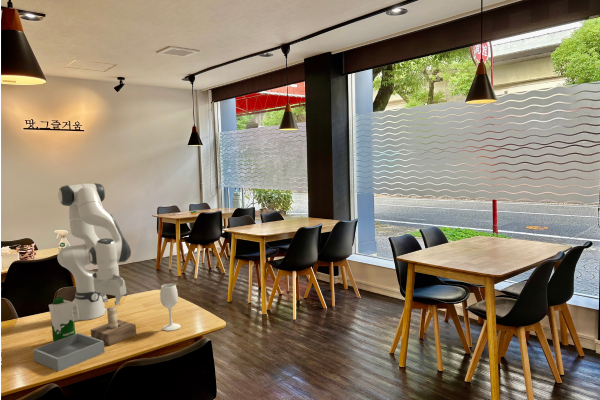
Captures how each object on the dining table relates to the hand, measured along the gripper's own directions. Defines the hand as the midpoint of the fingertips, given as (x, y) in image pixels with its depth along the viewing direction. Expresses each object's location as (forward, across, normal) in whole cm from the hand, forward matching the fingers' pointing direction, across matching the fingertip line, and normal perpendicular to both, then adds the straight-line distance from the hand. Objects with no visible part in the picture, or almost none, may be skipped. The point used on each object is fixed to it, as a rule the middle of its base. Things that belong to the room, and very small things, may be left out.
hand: (111, 303), depth 205 cm
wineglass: (+17, -14, -21) cm, 31 cm away
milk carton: (+16, +18, +14) cm, 28 cm away
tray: (+16, -1, +22) cm, 27 cm away
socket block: (+16, +1, 0) cm, 16 cm away
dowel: (+16, +1, 0) cm, 16 cm away
